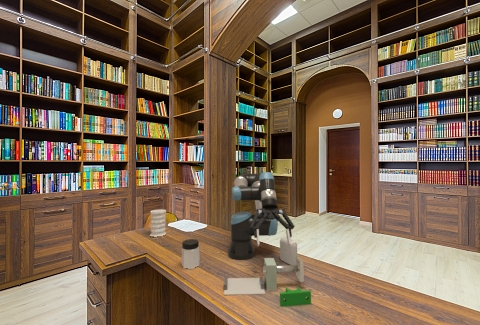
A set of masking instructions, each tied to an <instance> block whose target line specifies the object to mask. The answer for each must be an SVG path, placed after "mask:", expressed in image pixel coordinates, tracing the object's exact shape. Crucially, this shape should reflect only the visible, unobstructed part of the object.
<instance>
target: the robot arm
mask: <svg viewBox="0 0 480 325" xmlns="http://www.w3.org/2000/svg"><path fill="white" fill-rule="evenodd" d="M231 193H232V194H231V195H232V196H231V197H232V198H231V199H232V200H233V201H238V202H239V201H254V203H255V212H254V214H252V211H248V210H247V211H238V212H235V213H234V214H232V215H231V218H230V244H229V245H228V246H229V247H228V249H227V256H228V257H229V258H231V259H234V260H236V261H237V260H240V261H241V260H242V261H243V260H249V259H252V258H254V257H255V255H256V250H255V246H254V242H253V240H252V237H254V239H255V238H256V246H257V247H259V246H260V236H262V237H263V236H265V237H266V236H268V237H270V236H276V235H277V234H278V227H279V225H278V222H279V224H281V225H282V226H283V227H284V228H285V234H286V237H287V242H288V246H290V244H291V241H290V239H291V238H292V237H293V235H292V230H294V228H295V224H294V223H293V221H292V220H291V218H290V217H289V216H288V214H287V212H286V209H285V208H282V209H279V208H278V200H277V194H276V185H275V177H274V174H273V173H272V172H268V171H266V172H261V173H242V174H240V175H238V176H236V177H235V178H234V180H233V187H232V188H231ZM281 216H282V217H283V218H282V217H281Z"/></svg>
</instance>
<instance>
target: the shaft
mask: <svg viewBox="0 0 480 325" xmlns="http://www.w3.org/2000/svg"><path fill="white" fill-rule="evenodd" d="M304 265H305V264H304V260H303V259H302V258H301V257H300V255H297V256H296V265H290V264H288V265H287V264H286V265H285V264H284V265H282V264H281V265H277V273H290V272H291V273H295V277H297V280H298V281H299V282H300V283H303V282H305V280H304V279H305V278H304V277H305V276H304V275H305V272H304V271H305V270H304V268H305V267H304ZM262 271H263V272H262V273H264V272H266V266H264V265H262Z"/></svg>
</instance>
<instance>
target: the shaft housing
mask: <svg viewBox="0 0 480 325" xmlns="http://www.w3.org/2000/svg"><path fill="white" fill-rule="evenodd" d="M263 260H264V261H263V262H264V263H263V264H264V265H263V266H266V272H263V275H264V278H263V281H264V286H265V289H266V292H273V291H274V292H275V291H277V292H278V274H277V273H278V272H277V266H278V265H277V263H276V260H275V258H274V257H264V258H263Z"/></svg>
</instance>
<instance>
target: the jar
mask: <svg viewBox="0 0 480 325" xmlns="http://www.w3.org/2000/svg"><path fill="white" fill-rule="evenodd" d="M199 243H200V241H199V240H198V239H194V238H190V239H185V240H183V241H182V242H181V267H182V266H183V267H182V268H183V269H184V268H188V269H187V270H194V269H196V268H197V266H198V267H199V266H200V245H199ZM195 267H196V268H195ZM193 268H194V269H193Z"/></svg>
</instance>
